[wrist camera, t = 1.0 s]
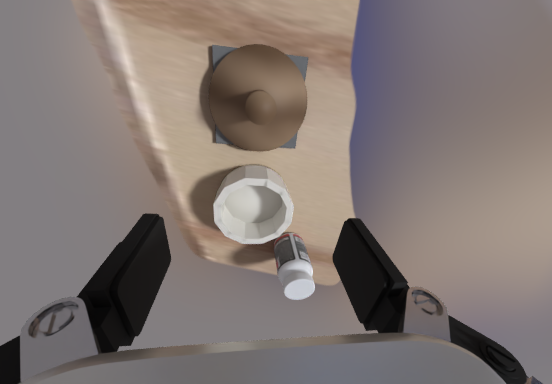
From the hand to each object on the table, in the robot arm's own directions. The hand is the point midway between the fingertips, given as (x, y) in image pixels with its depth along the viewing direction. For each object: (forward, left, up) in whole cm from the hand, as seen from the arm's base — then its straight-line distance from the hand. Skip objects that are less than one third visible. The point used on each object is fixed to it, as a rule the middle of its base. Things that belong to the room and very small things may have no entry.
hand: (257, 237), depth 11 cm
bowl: (+9, +1, -21) cm, 23 cm away
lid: (-5, +1, -20) cm, 20 cm away
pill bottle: (+19, +8, -21) cm, 29 cm away
